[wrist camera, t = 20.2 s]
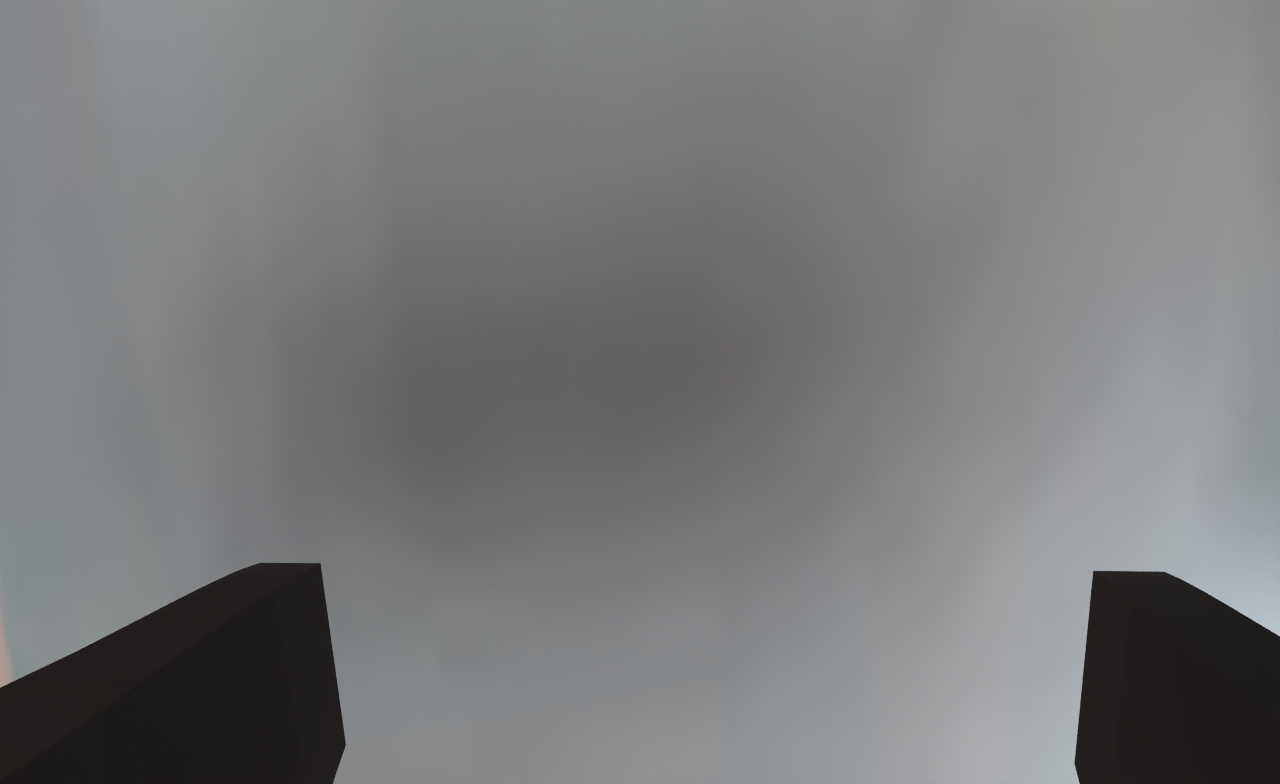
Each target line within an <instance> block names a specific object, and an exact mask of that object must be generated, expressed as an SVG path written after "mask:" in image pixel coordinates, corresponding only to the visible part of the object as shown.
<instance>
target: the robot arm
mask: <svg viewBox="0 0 1280 784" xmlns="http://www.w3.org/2000/svg"><path fill="white" fill-rule="evenodd" d="M345 746H346V743H345V736H344V729H343V721H342V714H341V707H340V700H339V693H338V686H337V679H336V671H335V664H334V657H333V650H332V643H331V636H330V628H329V621H328V614H327V607H326V600H325V593H324V586H323V578H322V571H321V564H320V563H258V564H255V565H253V566H250V567H247V568H244V569H241V570H239V571H236V572H234V573H232V574H229V575H227V576H225V577H223V578H221V579H218V580H216V581H214V582H212V583H210V584H208V585H206V586H204V587H202V588H200V589H198V590H196V591H194V592H192V593H190V594H188V595H186V596H184V597H182V598H180V599H178V600H176V601H174V602H172V603H170V604H168V605H166V606H164V607H162V608H160V609H158V610H156V611H155V612H153V613H151V614H149V615H147V616H145V617H143V618H141V619H139V620H137V621H135V622H133V623H131V624H129V625H127V626H125V627H123V628H121V629H120V630H118V631H116V632H114V633H112V634H110V635H108V636H106V637H104V638H102V639H100V640H98V641H96V642H94V643H92V644H90V645H88V646H86V647H84V648H83V649H81V650H79V651H77V652H74V653H72V654H70V655H68V656H66V657H64V658H62V659H60V660H58V661H56V662H53V663H51V664H49V665H47V666H45V667H43V668H41V669H39V670H37V671H35V672H32V673H30V674H28V675H26V676H24V677H22V678H20V679H18V680H16V681H14V682H11V683H9V684H7V685H5V686H3V687H1V688H0V784H333V781H334V778H335V775H336V772H337V769H338V766H339V763H340V760H341V757H342V754H343V751H344V749H345ZM1075 767H1076V771H1077V775H1078V779H1079V782H1080V784H1280V636H1278V635H1276V634H1275V633H1273V632H1271V631H1270V630H1268V629H1266V628H1265V627H1263V626H1261V625H1260V624H1258V623H1256V622H1255V621H1253V620H1251V619H1250V618H1248V617H1246V616H1245V615H1243V614H1241V613H1240V612H1238V611H1236V610H1235V609H1233V608H1231V607H1229V606H1228V605H1226V604H1224V603H1223V602H1221V601H1219V600H1217V599H1216V598H1214V597H1212V596H1211V595H1209V594H1207V593H1205V592H1204V591H1202V590H1200V589H1198V588H1196V587H1194V586H1193V585H1191V584H1189V583H1187V582H1185V581H1183V580H1181V579H1179V578H1177V577H1175V576H1172V575H1170V574H1168V573H1166V572H1134V571H1093V580H1092V590H1091V600H1090V611H1089V621H1088V631H1087V642H1086V652H1085V662H1084V672H1083V683H1082V693H1081V703H1080V714H1079V724H1078V734H1077V744H1076V755H1075Z"/></svg>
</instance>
